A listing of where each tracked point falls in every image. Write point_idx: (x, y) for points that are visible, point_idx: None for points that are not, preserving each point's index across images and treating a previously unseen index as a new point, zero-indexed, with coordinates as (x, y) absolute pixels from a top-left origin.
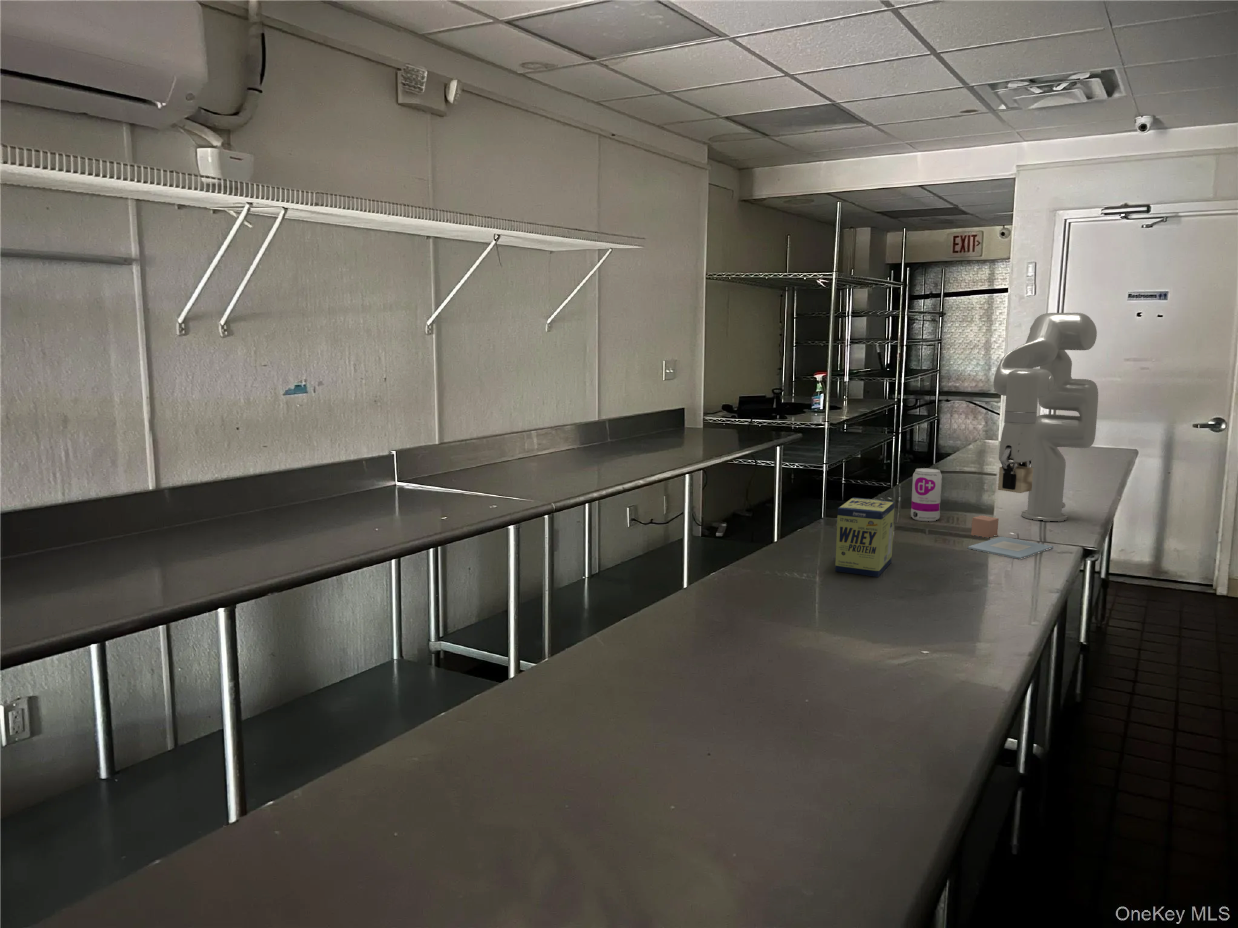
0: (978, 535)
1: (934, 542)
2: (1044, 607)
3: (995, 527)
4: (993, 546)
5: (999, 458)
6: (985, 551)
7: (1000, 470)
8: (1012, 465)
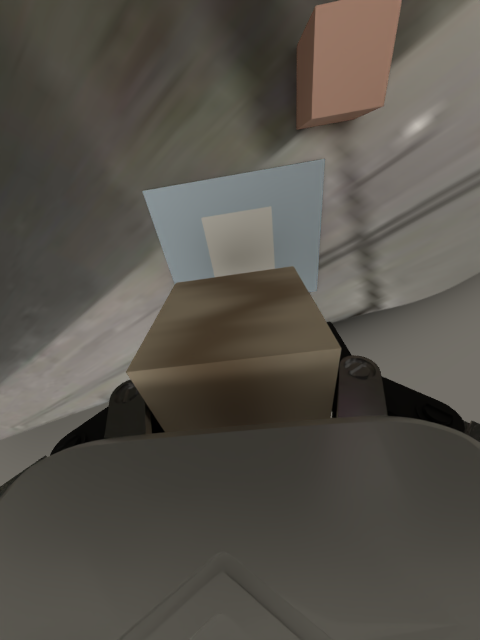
0: (297, 83)
1: (92, 55)
2: (57, 414)
3: (348, 117)
4: (203, 227)
5: (6, 495)
6: (160, 239)
7: (141, 358)
8: (314, 371)
